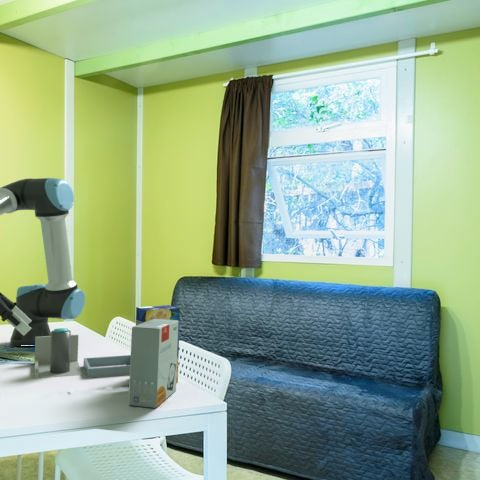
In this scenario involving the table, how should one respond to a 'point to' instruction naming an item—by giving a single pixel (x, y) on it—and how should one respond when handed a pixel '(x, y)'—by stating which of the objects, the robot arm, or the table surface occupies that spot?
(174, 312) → the beverage box
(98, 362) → the tray
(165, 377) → the hard drive box
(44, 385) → the table surface
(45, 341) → the bay
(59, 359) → the bottle
